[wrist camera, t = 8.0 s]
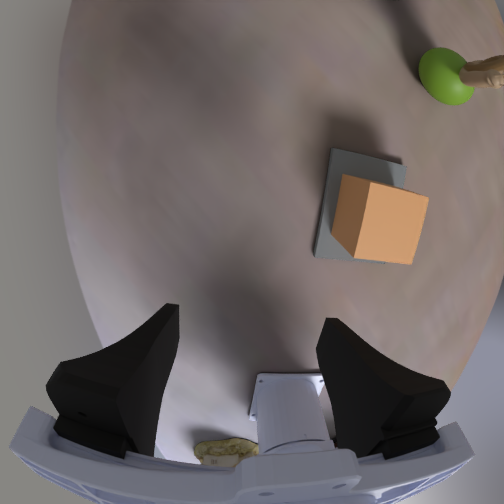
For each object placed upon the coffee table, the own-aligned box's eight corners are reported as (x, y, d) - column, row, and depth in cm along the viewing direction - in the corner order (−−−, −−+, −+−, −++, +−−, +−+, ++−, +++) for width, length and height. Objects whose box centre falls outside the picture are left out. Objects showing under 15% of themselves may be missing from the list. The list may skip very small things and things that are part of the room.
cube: (381, 241, 22) (411, 264, 17) (330, 234, 21) (353, 258, 17) (394, 185, 20) (429, 197, 15) (342, 173, 20) (370, 182, 15)
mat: (382, 261, 23) (385, 263, 23) (312, 254, 23) (314, 257, 22) (403, 165, 20) (406, 166, 19) (331, 147, 19) (333, 147, 19)
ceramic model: (185, 437, 33) (178, 491, 24) (258, 434, 33) (262, 491, 24) (207, 468, 38) (205, 511, 29) (266, 466, 38) (269, 510, 29)
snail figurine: (390, 70, 17) (488, 37, 6) (427, 47, 15) (514, 21, 4) (423, 120, 18) (527, 123, 7) (456, 93, 17) (547, 90, 6)
